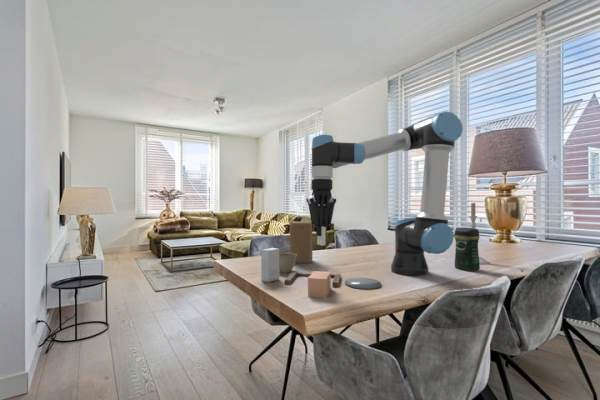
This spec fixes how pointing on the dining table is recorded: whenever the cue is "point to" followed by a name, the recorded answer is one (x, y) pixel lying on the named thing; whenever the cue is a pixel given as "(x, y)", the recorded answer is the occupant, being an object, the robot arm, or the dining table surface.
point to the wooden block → (301, 241)
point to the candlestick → (473, 225)
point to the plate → (362, 283)
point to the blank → (319, 284)
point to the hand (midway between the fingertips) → (321, 244)
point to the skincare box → (269, 264)
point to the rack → (295, 274)
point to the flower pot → (286, 261)
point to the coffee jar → (467, 249)
